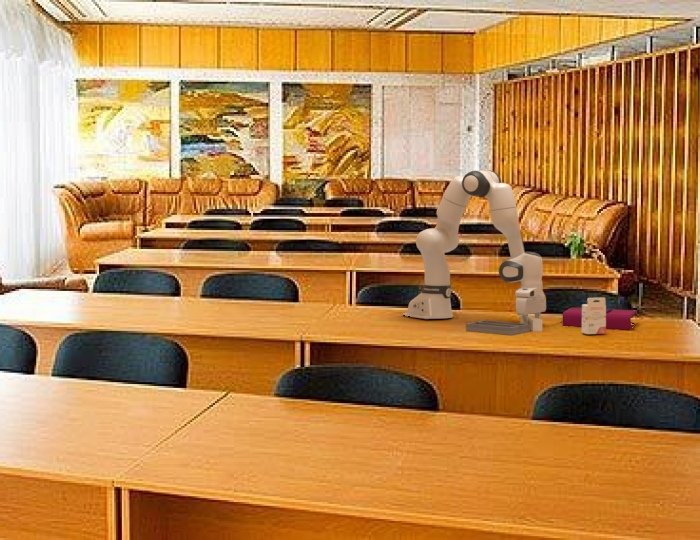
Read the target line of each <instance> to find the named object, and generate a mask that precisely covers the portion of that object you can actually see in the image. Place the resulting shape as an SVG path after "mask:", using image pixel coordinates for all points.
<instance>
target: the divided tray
mask: <svg viewBox="0 0 700 540" xmlns="http://www.w3.org/2000/svg"><path fill="white" fill-rule="evenodd" d="M529 328H530V324H522V323H520V322H519V323H518V322H509V321H508V322H507V321H497V320H486V319H483V320H478V321H473V322H469V323H465V332H473V333H475V332H476V333H485V334H496V335H503V336H504V335H505V336H506V335H507V336H514V335H520V334H524V333H528V332H529V333H530V330H529Z"/></svg>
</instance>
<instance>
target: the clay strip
mask: <svg viewBox="0 0 700 540" xmlns="http://www.w3.org/2000/svg"><path fill="white" fill-rule="evenodd" d="M519 318H520V319H519V321H520V322H519V323H522V324H524V321H523V318H522V315H519ZM528 321H529V324H530V328H529V331H530V330H531V331H530V332H543V319H541V318H536V317H535V316H533V315H531V314H528Z"/></svg>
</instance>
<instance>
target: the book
mask: <svg viewBox="0 0 700 540" xmlns="http://www.w3.org/2000/svg"><path fill="white" fill-rule="evenodd" d="M636 315H637V310H636V309H616V308H615V309H613V308H606V330H615V329H620V330H619V331H631V329H632V327H633V326H634V325H631V323H632V320H631V319H632V318H633V317H635V316H636ZM563 326H568V327H570V326H574V327H573V328H582V307H574V306H573V307H569V308H568V309H566V310H565V311H563V313H562V327H563ZM634 327H635V326H634ZM634 327H633V328H634ZM632 330H633V329H632Z"/></svg>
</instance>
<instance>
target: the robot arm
mask: <svg viewBox="0 0 700 540" xmlns="http://www.w3.org/2000/svg"><path fill="white" fill-rule="evenodd" d="M472 197H479V198H486V199H487V201H488V204H489V211H490V218H491V221H492V224H493V226H494V228H495V229H496V230H497V231H499V232H500V233H502V234H503V235H504V237H505V239H506V240H507V245H508V250H509V254H510V258H509V259H506V260H504V261H502V263H500V265H499V267H498V275H499V277H500V279H502V280H503V281H504V282H506V283H518V282H519V283H520V286H519V288H518V289H517V290H515V293H514V294H515V297H516V298H515V313H516V314H517V316H520V315H522V318H523V321H524V324H529V321H528V315H533V314H534V317H536V318H539V319H541V313H543V312H546V310H547V297H546V295H545V292H544V291H543V287H544V285H543V274H544V266H543V264H544V263H543V259H542V255H540V254H539V253H536V252H532V251H525V250H526V248H525V246H524V241H523V236H522V232H521V226H520V223H519V221H520V220H519V215H518V208H517V202H516V198H515V193H514V191H513V188H512V186H511V185H510V184H509V183H505V182H502V179H501V176H500V175H499V174H498V173H497V172H495V171H494V170H486V169H479V170H472V171H469V172H467V173H466V174H465V175H464V176H462V175H456V176H454V177H453V178H452V179H451V181H450V183H449V184H448V185H447V187H446V189H445V191H444V193H443V195H442V198H441V200H440V203H439V204H438V207H437V210H436V216H437V220H436V226H435V227H433V228H432V227H431V228H426V229H423V230H422V231H420V232H419V233H418V234H417V235H416V239H415V244H416V248H417V250H419V252H420V254H421V257H422V258H421V259H422V261H423V266H424V268H423V269H424V284H423V285H421V286H419V290H421V291H420V293H419V294H418V295H417V296H415V297H414V298H413V299H411V300H410V301H409V303H408V307H407V312H404V313H403V312H402V316H403V315H405V316H404V317H408V316H410V318H418V319H424V320H429V319H431V320H432V319H450V318H454V315H453V310H452V304H451V295H452V291H451V290H452V285H451V284H450V283H451V267H450V265H449V264H448V262H447V259H446V255H445V254H446V253H450V252H451V251H454V250H455V249H456V248H457V247H458V246H459V243H460V237H459V228H460V224H461V220H462V219H463V218H462V217H463V216H464V213H465V212H466V208H467V206H468V203H469V202H470V199H471V198H472Z"/></svg>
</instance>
